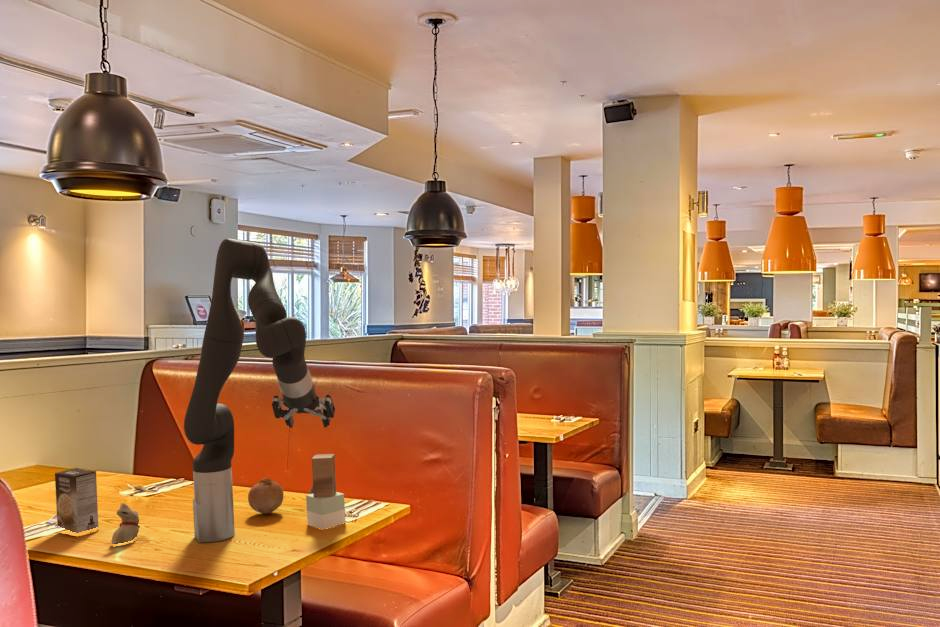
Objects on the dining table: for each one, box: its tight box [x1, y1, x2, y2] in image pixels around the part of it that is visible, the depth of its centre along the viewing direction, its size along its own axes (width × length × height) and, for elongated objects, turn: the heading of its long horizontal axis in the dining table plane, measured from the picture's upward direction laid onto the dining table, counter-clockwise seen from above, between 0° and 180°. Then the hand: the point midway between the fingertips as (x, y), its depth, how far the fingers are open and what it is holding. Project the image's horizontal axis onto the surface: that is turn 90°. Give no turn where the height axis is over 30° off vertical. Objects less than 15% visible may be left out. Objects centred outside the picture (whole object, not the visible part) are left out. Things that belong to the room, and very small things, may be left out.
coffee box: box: [54, 467, 99, 533], centre depth 206 cm, size 9×6×16 cm
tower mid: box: [305, 491, 346, 515], centre depth 204 cm, size 7×7×4 cm
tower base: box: [306, 509, 346, 530], centre depth 205 cm, size 7×7×4 cm
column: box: [311, 453, 337, 497], centre depth 204 cm, size 5×5×10 cm
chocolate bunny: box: [111, 502, 141, 544], centre depth 196 cm, size 6×8×10 cm
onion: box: [247, 477, 284, 515], centre depth 216 cm, size 10×9×10 cm
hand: (309, 424), depth 193 cm, fingers open, 8 cm apart
